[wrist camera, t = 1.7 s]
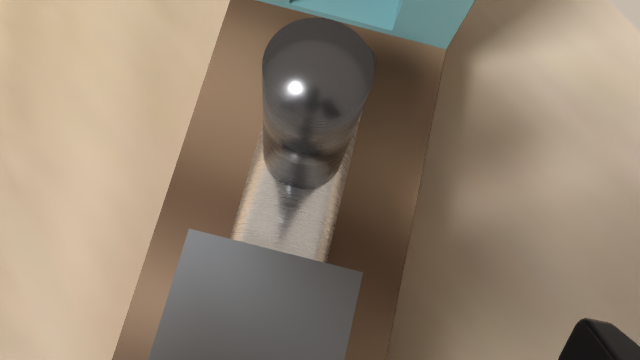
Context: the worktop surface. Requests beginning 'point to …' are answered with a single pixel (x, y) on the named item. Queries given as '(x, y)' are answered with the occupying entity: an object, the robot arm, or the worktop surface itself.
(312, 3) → the socket block
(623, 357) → the robot arm
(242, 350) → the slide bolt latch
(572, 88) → the worktop surface
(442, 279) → the worktop surface
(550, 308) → the worktop surface
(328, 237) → the slip tube
